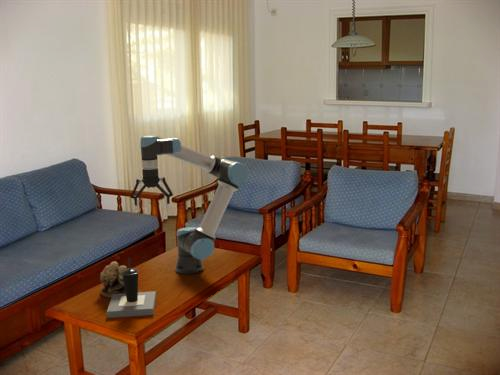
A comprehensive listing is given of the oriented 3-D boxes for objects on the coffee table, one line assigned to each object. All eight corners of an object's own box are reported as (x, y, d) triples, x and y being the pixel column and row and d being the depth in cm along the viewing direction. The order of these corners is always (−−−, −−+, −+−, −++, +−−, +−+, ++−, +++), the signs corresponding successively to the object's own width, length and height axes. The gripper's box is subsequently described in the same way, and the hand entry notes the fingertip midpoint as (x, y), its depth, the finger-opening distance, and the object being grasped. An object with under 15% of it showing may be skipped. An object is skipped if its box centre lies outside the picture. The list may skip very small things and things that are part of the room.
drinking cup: (120, 300, 252) (117, 258, 248) (135, 295, 256) (132, 254, 252) (128, 305, 246) (125, 262, 242) (143, 300, 251) (140, 258, 247)
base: (156, 297, 263) (155, 290, 262) (153, 314, 243) (152, 307, 242) (113, 299, 261) (112, 293, 260) (107, 318, 241) (106, 311, 240)
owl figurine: (139, 291, 270) (137, 258, 267) (127, 301, 259) (124, 267, 256) (107, 287, 276) (105, 255, 272) (94, 297, 265) (91, 263, 261)
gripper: (122, 170, 259) (125, 214, 264) (176, 168, 262) (178, 211, 266) (124, 168, 267) (127, 210, 271) (176, 165, 269) (178, 208, 273)
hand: (152, 211), depth 268 cm, fingers open, 13 cm apart
